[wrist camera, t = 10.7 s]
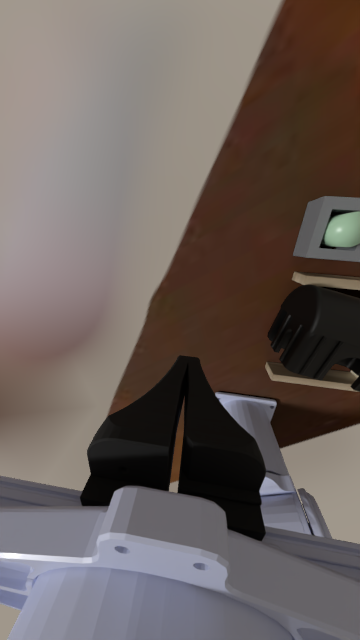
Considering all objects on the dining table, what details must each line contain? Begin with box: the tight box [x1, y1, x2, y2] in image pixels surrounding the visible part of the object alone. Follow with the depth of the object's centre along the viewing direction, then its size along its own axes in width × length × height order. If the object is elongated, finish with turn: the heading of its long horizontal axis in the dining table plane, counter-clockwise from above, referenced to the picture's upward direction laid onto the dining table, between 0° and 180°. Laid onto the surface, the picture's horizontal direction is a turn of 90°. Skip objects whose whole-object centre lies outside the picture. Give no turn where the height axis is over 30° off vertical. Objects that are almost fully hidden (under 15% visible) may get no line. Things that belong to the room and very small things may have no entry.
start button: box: [320, 211, 360, 247], centre depth 15 cm, size 2×2×3 cm
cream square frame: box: [265, 272, 360, 392], centre depth 19 cm, size 12×10×2 cm
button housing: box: [293, 196, 360, 262], centre depth 16 cm, size 4×4×2 cm
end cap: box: [268, 284, 360, 392], centre depth 17 cm, size 10×7×7 cm
